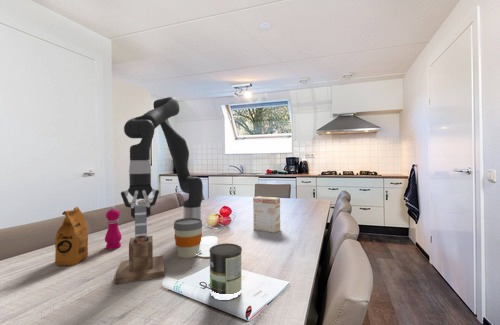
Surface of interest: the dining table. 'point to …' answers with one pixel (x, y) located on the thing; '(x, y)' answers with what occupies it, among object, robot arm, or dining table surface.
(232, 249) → the coffee can
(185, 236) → the reusable coffee cup
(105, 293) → the dining table surface
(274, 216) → the coffeecake box
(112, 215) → the pepper mill
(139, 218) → the column
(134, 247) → the stand
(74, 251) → the coffee package
